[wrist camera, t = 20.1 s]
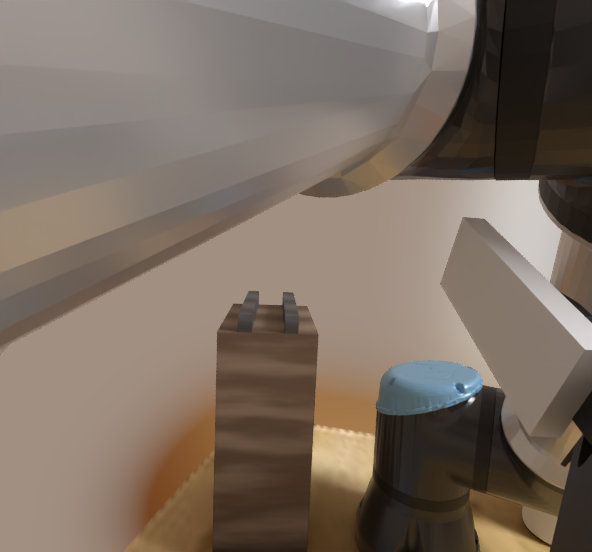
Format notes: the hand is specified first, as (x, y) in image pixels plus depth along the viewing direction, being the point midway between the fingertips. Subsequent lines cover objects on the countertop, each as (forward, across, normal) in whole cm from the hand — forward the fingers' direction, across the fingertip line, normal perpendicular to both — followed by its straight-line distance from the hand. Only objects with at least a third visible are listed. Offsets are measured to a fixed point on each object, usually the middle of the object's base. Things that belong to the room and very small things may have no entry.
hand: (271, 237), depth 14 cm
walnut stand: (+16, +1, -50) cm, 53 cm away
